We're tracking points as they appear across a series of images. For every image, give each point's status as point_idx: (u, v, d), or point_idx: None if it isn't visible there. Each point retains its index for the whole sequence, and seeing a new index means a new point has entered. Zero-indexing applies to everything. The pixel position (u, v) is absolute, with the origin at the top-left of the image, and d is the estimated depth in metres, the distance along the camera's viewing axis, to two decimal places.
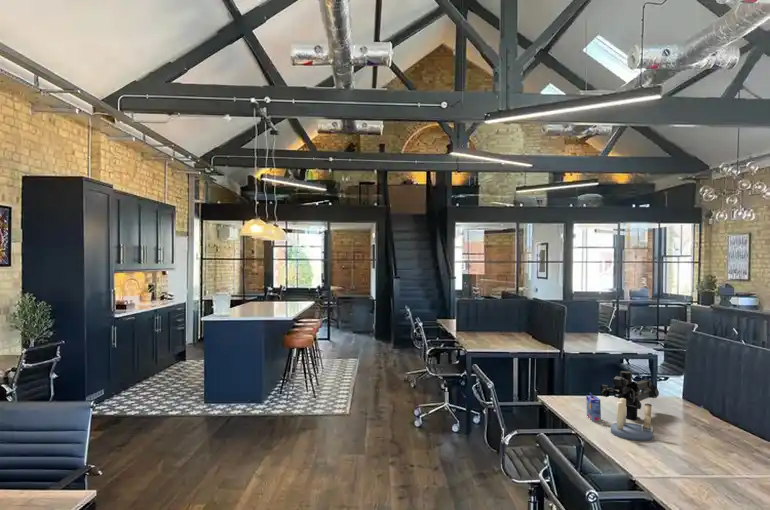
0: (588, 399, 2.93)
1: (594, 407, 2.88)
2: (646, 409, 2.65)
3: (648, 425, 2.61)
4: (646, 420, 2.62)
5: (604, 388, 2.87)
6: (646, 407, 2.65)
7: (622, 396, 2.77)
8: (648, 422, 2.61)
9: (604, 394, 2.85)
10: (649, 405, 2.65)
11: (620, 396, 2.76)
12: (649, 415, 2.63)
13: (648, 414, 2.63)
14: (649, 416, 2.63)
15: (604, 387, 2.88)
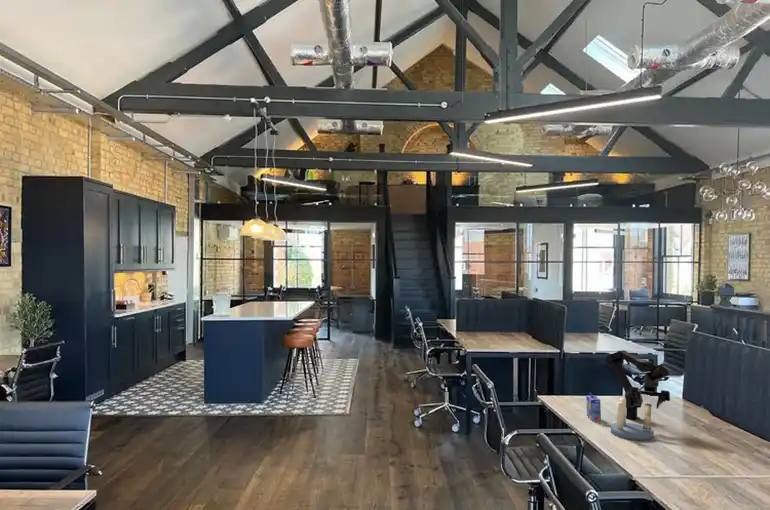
0: (588, 399, 2.93)
1: (594, 407, 2.88)
2: (646, 409, 2.65)
3: (648, 425, 2.61)
4: (646, 420, 2.62)
5: (638, 394, 2.76)
6: (646, 407, 2.65)
7: (659, 403, 2.70)
8: (648, 422, 2.61)
9: (641, 401, 2.75)
10: (649, 405, 2.65)
11: (658, 405, 2.69)
12: (649, 415, 2.63)
13: (648, 414, 2.63)
14: (649, 416, 2.63)
15: (638, 393, 2.76)
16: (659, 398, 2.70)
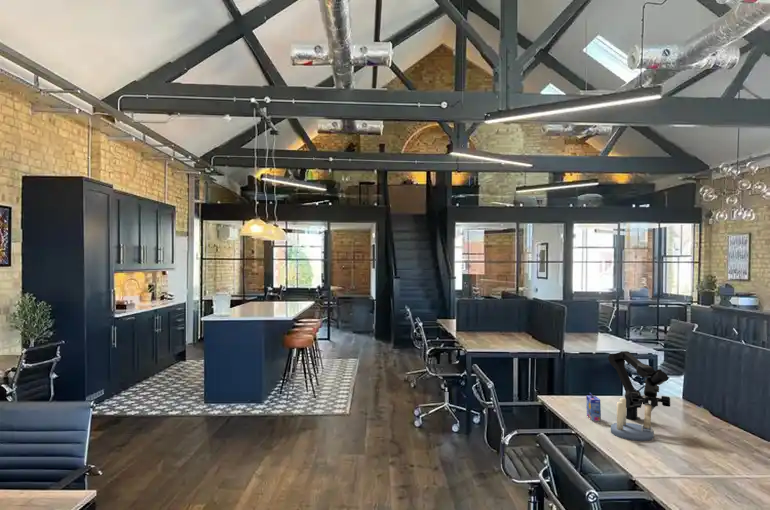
0: (588, 399, 2.93)
1: (594, 407, 2.88)
2: (646, 409, 2.65)
3: (648, 425, 2.61)
4: (646, 420, 2.62)
5: (646, 401, 2.72)
6: (646, 407, 2.65)
7: (652, 408, 2.70)
8: (648, 422, 2.61)
9: None
10: (649, 405, 2.65)
11: (651, 410, 2.69)
12: (649, 415, 2.63)
13: (648, 414, 2.63)
14: (649, 416, 2.63)
15: (645, 399, 2.72)
16: (652, 403, 2.71)
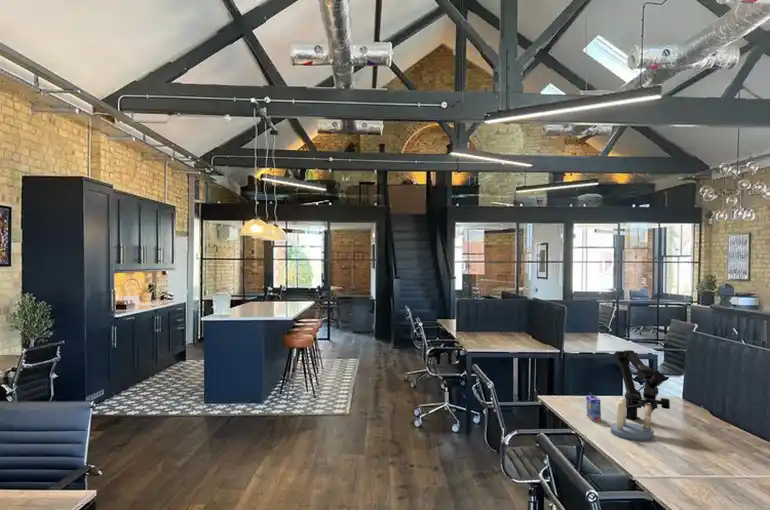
0: (588, 399, 2.93)
1: (594, 407, 2.88)
2: (646, 409, 2.65)
3: (648, 425, 2.61)
4: (646, 420, 2.62)
5: None
6: (646, 407, 2.65)
7: (651, 410, 2.67)
8: (648, 422, 2.61)
9: None
10: (649, 405, 2.65)
11: None
12: (649, 415, 2.63)
13: (648, 414, 2.63)
14: (649, 416, 2.63)
15: (645, 402, 2.69)
16: None
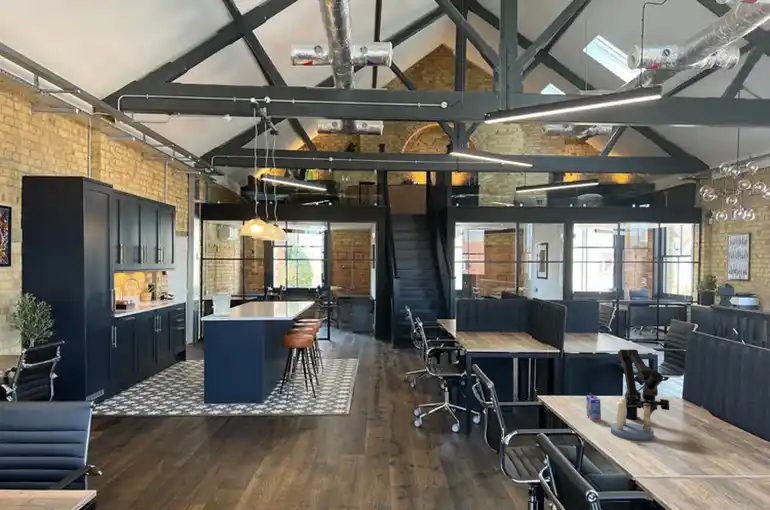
0: (588, 399, 2.93)
1: (594, 407, 2.88)
2: (645, 410, 2.61)
3: (648, 426, 2.60)
4: (646, 422, 2.60)
5: None
6: (645, 408, 2.61)
7: (651, 412, 2.64)
8: (648, 423, 2.60)
9: None
10: (648, 406, 2.60)
11: (650, 414, 2.63)
12: (648, 416, 2.60)
13: (647, 415, 2.60)
14: (648, 417, 2.60)
15: (643, 403, 2.66)
16: (651, 406, 2.64)
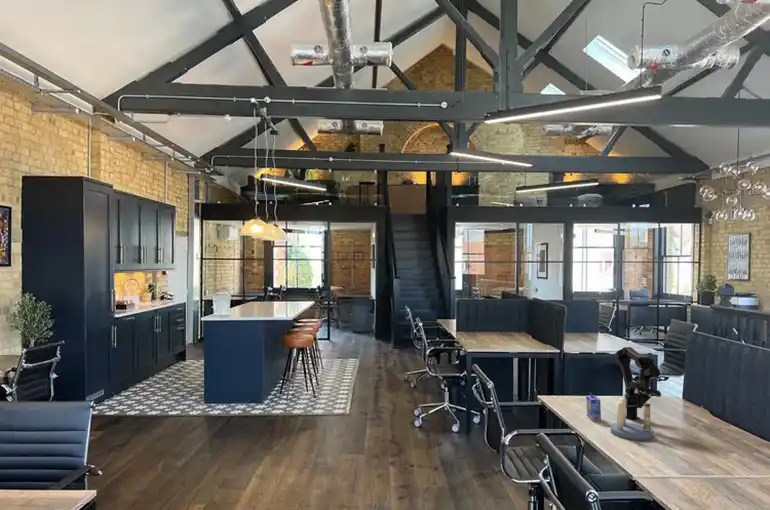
0: (588, 399, 2.93)
1: (594, 407, 2.88)
2: (645, 410, 2.61)
3: (648, 426, 2.60)
4: (646, 422, 2.60)
5: (636, 396, 2.76)
6: (645, 408, 2.61)
7: (643, 402, 2.74)
8: (648, 423, 2.60)
9: None
10: (648, 406, 2.60)
11: (641, 404, 2.73)
12: (648, 416, 2.60)
13: (647, 415, 2.60)
14: (648, 417, 2.60)
15: (636, 394, 2.77)
16: (641, 397, 2.74)
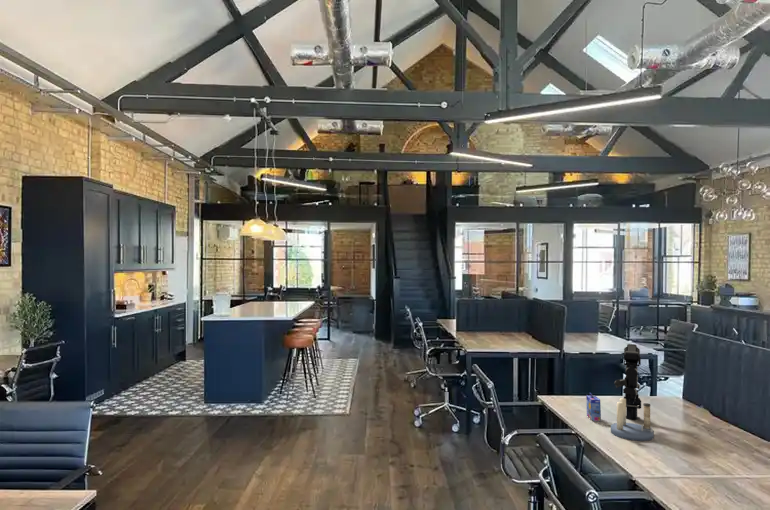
0: (588, 399, 2.93)
1: (594, 407, 2.88)
2: (645, 410, 2.61)
3: (648, 426, 2.60)
4: (646, 422, 2.60)
5: None
6: (645, 408, 2.61)
7: (631, 399, 2.78)
8: (648, 423, 2.60)
9: None
10: (648, 406, 2.60)
11: (631, 401, 2.78)
12: (648, 416, 2.60)
13: (647, 415, 2.60)
14: (648, 417, 2.60)
15: None
16: None
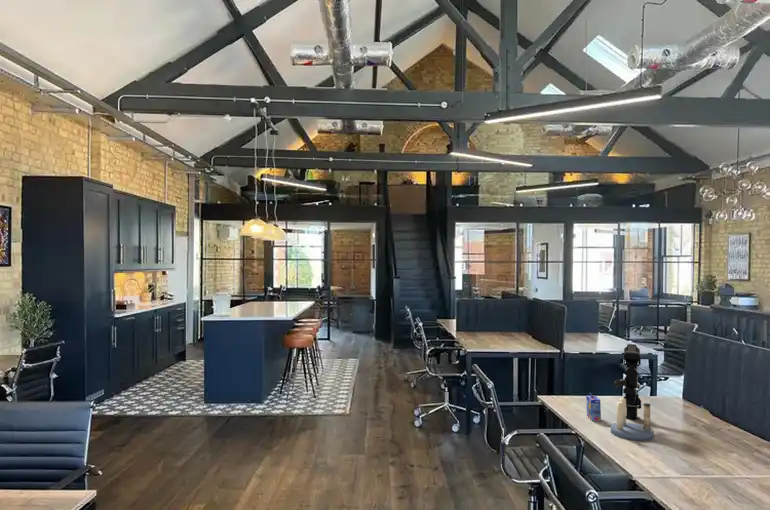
0: (588, 399, 2.93)
1: (594, 407, 2.88)
2: (645, 410, 2.61)
3: (648, 426, 2.60)
4: (646, 422, 2.60)
5: None
6: (645, 408, 2.61)
7: (631, 399, 2.78)
8: (648, 423, 2.60)
9: None
10: (648, 406, 2.60)
11: (631, 401, 2.78)
12: (648, 416, 2.60)
13: (647, 415, 2.60)
14: (648, 417, 2.60)
15: None
16: None
